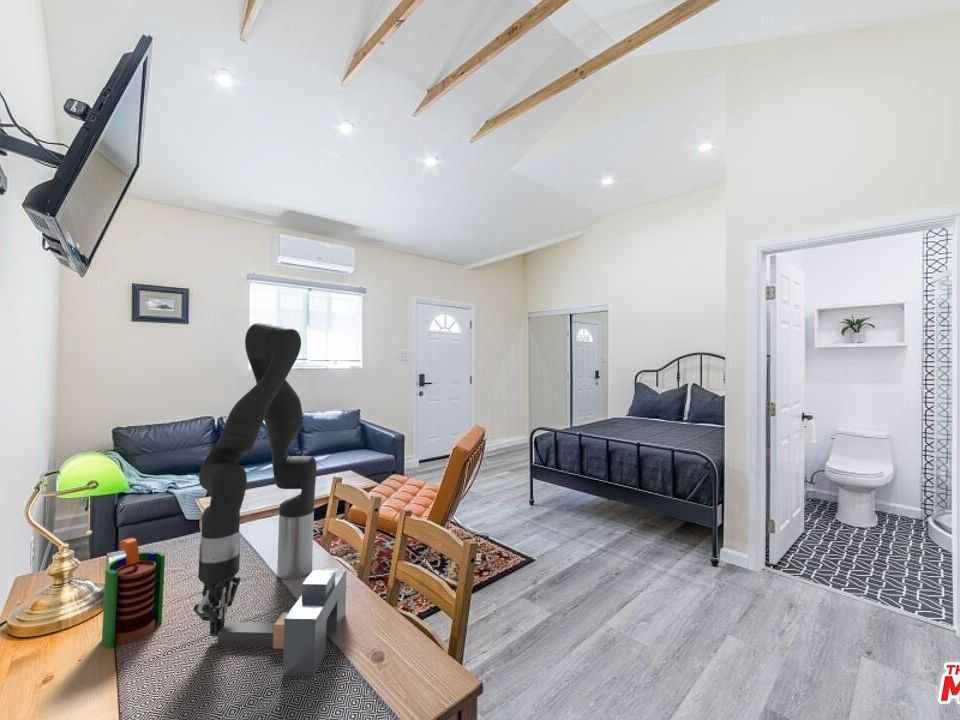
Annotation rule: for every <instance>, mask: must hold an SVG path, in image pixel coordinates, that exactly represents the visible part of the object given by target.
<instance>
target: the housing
mask: <svg viewBox="0 0 960 720" xmlns="http://www.w3.org/2000/svg"><path fill="white" fill-rule="evenodd" d="M347 570H348V569H347V568H332V567H331V568H327V567H325V568H323V567H322V568H321V569H312V571H311V572H310V573H309V574H308V575H307V577H306V578H305V580H304V581H303V583H302V584H301V595H300V596H299V598H298V599H297V601H296V602H295V603H294V604H293V606H292V608H291V609H290V610H289V613H288V614H287V616H286V617H285V619H284V649H283V655H282V657H283V658H282V677H314V676H316V673H317V671H318V669H319V667H320V666H321V664H322V661H323V660H324V658H325V655H326V651H327V632H332V633H334V632H336V633H337V632H338V630H339V628H340V626H341V624H342V622H343V620H344V618H345V616H346V604H347V603H346V601H347V599H346V597H347Z"/></svg>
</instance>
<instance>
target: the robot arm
mask: <svg viewBox="0 0 960 720" xmlns="http://www.w3.org/2000/svg"><path fill="white" fill-rule="evenodd" d="M244 344H245V346H244V347H245V352H246V355H247V359H248V362H249V364H250V367H251V370H252V374H253V377H254V379H255V382H256V384H255V385H254V386H253V387H252V388H251V389H250V390H249V391H248V392H247V393H245V394H244V395H243V396H242V397H241V398H240V399H239V400H238V401H237V402H236V403H235V404H234V406H233V407H232V409H231V411H229V414H228V416H227V419H226V422H225V423H224V426H223V428H222V430H221V433H220V436H219V439H218V440H217V442H216V443H215V444H214V446H213V447H212V448H211V450H210V452H209V453H208V454H207V456H206V458H205V460H204V461H203V463H202V465H201V467H200V470H199V474H198V482H199V485H200V486H201V488H203V489H204V490H206V491H208V492H210V495H211V496H210V503H209V505H208V506H207V507H206V508H205V509H204V510H203V512H202V517H201V534H200V537H201V538H200V541H199V548H198V549H199V555H198V579H199V581H200V582H201V583H202V584H203V589H202V593H201V595H202V599H201V601H200V603H199V604H198V603H197V604H195V605H194V606H193V611H194V613H195V614H196V615H197V616H198V617H199V618H200V619H201V621H202V622H209V635H210V637H217V635H218V631H219V630H220V629H221V628H222V627H223V626H224V625H225V621H226V619H225V618H226V617H225V615H226V614H227V612H228V608H230V607H231V606H232V604H233V602H234V599H235V596H236V593H237V591H238V588H239V584H240V581H241V577H240V576H237V574H238V573H239V571H240V562H241V561H240V558H241V555H240V554H241V535H240V525H241V523H240V522H241V520H240V519H241V515H240V514H241V508H242V505H243V502H244V497H245V493H246V490H247V484H248V479H247V478H248V477H247V473H246V471H245V468H244V467H243V466H242V465H240V464H238V463H239V461H240V459H241V457H242V456H243V454H244V453H247V452H249V451H252V449H253V448H254V445H255V443H256V440H257V438H258V436H259V433H260V431H261V428H262V425H263V424H264V423H265V428H266V431H267V437H268V440H269V446H270V451H271V461H272V472H273V473H272V474H273V479H274V483H275V486H276V487H277V488H278V489H281V490H301V491H300V494H298V495H296V496H294V497H291V498H288V499H285V500H284V501H282V502H281V503H280V504H279V508H278V510H279V511H278V542H277V543H278V544H277V545H278V546H277V547H278V548H277V571H276V573H277V574H276V575H277V577H278V578H279V579H282V580H297V579H301V578H303V577H306V576H308V575H310V573H311V572H312V571H313V557H314V556H313V553H314V552H313V551H314V520H315V519H314V517H315V516H314V515H315V497H316V496H315V495H316V480H317V471H318V470H317V469H318V468H317V467H318V466H317V460H316V458H315V457H314V456H310V455H296V456H295V455H292V456H291V455H289V454H288V449H289V447H290V445H291V444H292V442H293V441H294V439H295V438H296V437H297V436H298V434H299V433H300V432H301V431H300V430H301V428H302V427H303V423H304V416H303V415H304V414H303V409H302V403H301V399H300V397H299V395H298V394H297V393H296V391H295V389H294V388H293V387H292V386H291V385H290V383H289V382H288V381H287V377H288V375H289V373H290V372H291V370H292V368H293V366H294V365H295V364H296V361H297V358H298V357H299V354H300V351H301V347H302V337H301V334H300V333H299V332H298V330H296V329H294V328H291V327H287V326H284V325H278V324H272V323H268V322H256V323H254V324H251V325H250V327H248V329H247V331H246V334H245V338H244Z"/></svg>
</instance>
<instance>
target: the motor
mask: <svg viewBox="0 0 960 720" xmlns="http://www.w3.org/2000/svg"><path fill="white" fill-rule="evenodd" d="M119 551H123V552H125V554H126V556H124V557H121V558H119V559H116V560H114V561H112V562H111V563H109V564H108V563H107V565H106V567H105V571H104V572H105V573H104V589H103V591H104V593H103V609H102V610H103V612H102V614H103V615H102V627H101V629H102V630H101V631H102V633H101V645H102V646H103V647H105V648H106V649H107V648H108V649H112V648H114V647H115V645H127V644H131V643H134V642H137V641H139V640H142V639H144V638H146V637H147V636H149V635H150V634H151V633H153V631H154V630H155V627H156V624H157V625H162V624H163V621H162V620H163V607H164V605H163V604H164V602H163V601H164V585H165V583H164V582H165V562H166V560H165V559H166V554H164V553H163V552H161V551H153V550H152V551H142V552H140V551H139V544H138V541H137V539H136V538H134V537H130V538H129V537H128V538H125V539H122V540H120V546H119Z"/></svg>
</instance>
